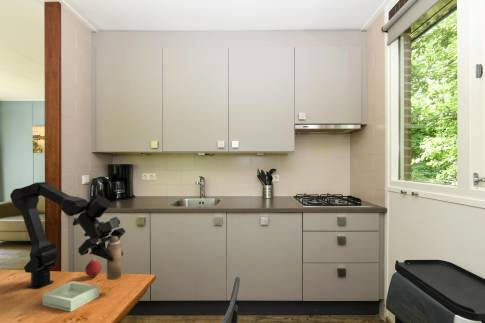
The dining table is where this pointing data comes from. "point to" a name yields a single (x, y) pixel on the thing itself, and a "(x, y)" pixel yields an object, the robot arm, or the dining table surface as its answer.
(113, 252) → the pepper mill
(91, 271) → the pomegranate
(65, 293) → the serving tray
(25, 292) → the dining table surface
